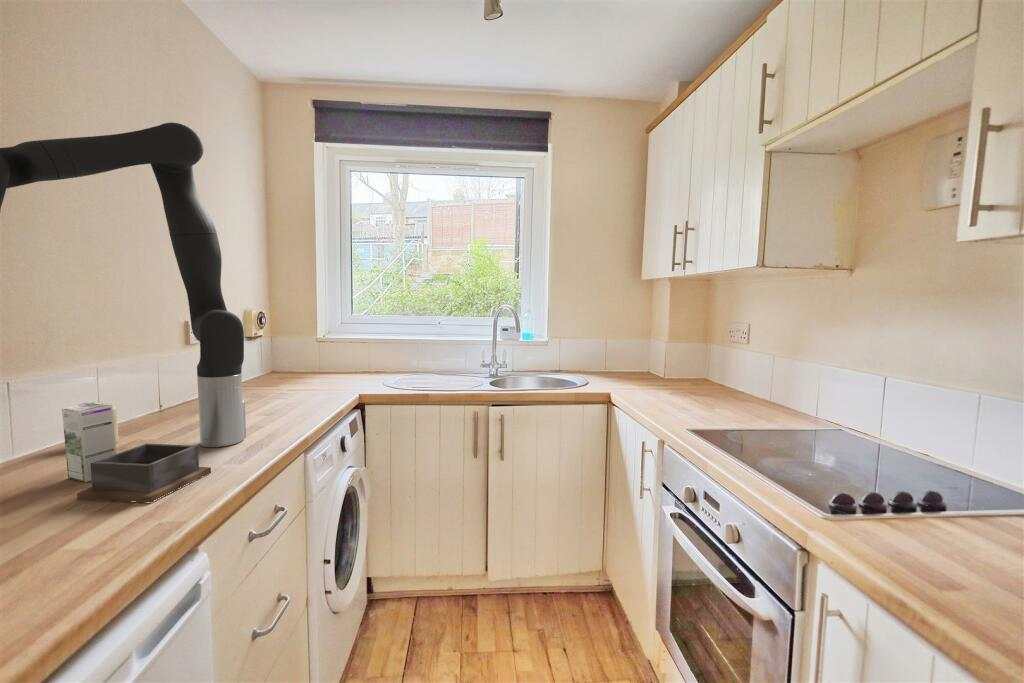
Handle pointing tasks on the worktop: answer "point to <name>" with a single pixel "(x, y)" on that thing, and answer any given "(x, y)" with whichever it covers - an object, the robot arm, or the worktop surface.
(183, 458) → the holder
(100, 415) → the syrup box
